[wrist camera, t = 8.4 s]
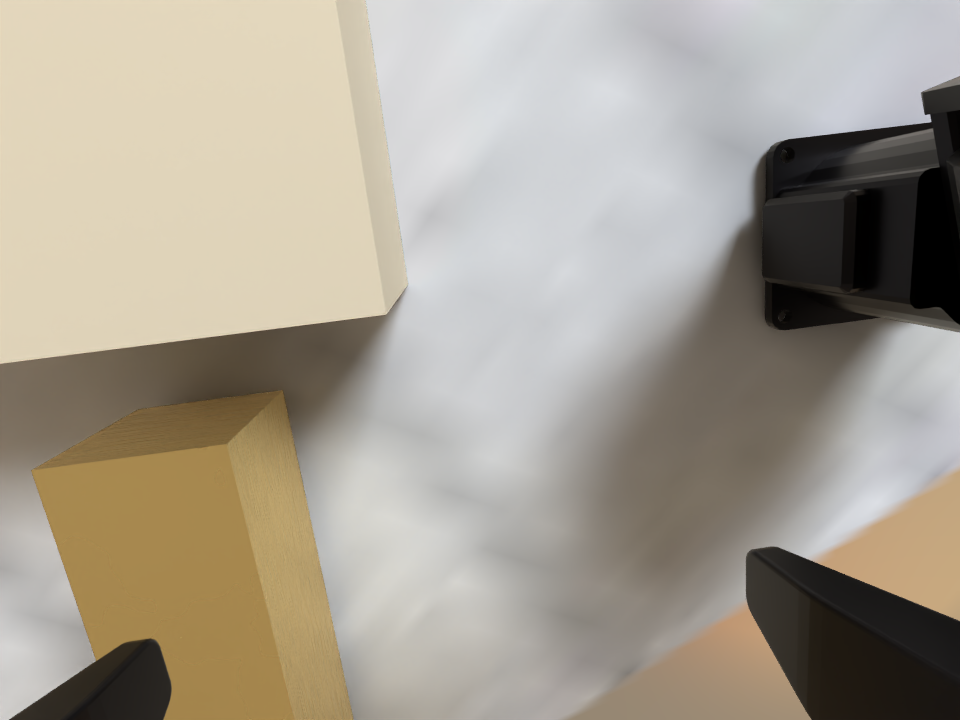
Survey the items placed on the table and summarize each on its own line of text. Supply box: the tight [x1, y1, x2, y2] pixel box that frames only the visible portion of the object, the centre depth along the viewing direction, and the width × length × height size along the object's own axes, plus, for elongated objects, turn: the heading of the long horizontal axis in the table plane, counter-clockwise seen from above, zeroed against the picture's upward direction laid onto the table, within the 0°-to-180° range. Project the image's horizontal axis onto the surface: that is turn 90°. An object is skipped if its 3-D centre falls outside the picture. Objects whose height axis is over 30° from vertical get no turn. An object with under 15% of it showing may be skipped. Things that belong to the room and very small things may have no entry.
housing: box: [0, 0, 408, 364], centre depth 14 cm, size 14×10×7 cm
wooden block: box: [31, 390, 353, 720], centre depth 18 cm, size 6×17×6 cm, turn 7°
